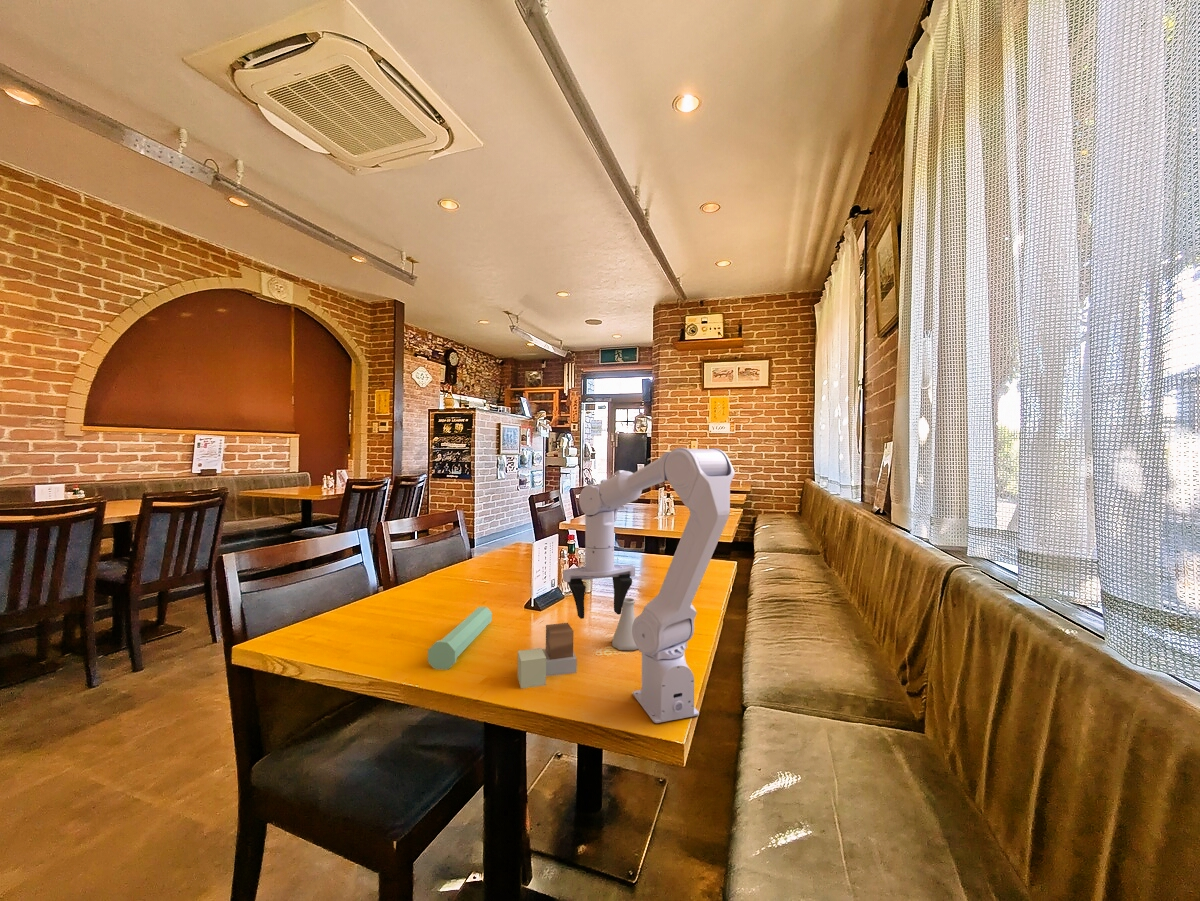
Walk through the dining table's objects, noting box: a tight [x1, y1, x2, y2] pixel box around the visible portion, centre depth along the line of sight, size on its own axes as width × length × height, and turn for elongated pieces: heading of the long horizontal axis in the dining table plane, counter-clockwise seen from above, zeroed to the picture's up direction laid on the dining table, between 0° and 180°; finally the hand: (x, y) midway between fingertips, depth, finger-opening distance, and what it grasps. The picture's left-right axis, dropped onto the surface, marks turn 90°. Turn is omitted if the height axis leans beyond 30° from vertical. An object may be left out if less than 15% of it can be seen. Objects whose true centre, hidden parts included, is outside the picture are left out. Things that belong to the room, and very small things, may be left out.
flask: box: [611, 597, 639, 651], centre depth 103 cm, size 7×7×10 cm
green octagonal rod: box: [427, 606, 493, 671], centre depth 103 cm, size 6×6×25 cm
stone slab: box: [542, 648, 578, 677], centre depth 92 cm, size 6×6×3 cm
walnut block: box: [545, 622, 574, 660], centre depth 92 cm, size 4×4×5 cm
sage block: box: [517, 647, 547, 689], centre depth 86 cm, size 4×4×5 cm
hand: (599, 614), depth 92 cm, fingers open, 7 cm apart
